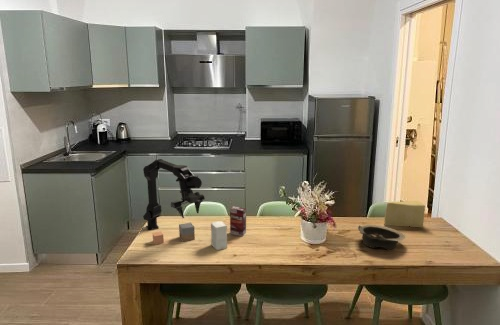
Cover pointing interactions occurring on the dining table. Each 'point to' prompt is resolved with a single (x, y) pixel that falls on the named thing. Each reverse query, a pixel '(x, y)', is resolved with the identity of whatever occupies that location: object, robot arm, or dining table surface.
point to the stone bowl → (380, 236)
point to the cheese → (405, 213)
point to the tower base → (187, 237)
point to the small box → (219, 235)
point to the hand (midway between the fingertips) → (190, 215)
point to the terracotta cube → (158, 238)
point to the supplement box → (238, 221)
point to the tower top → (186, 228)
